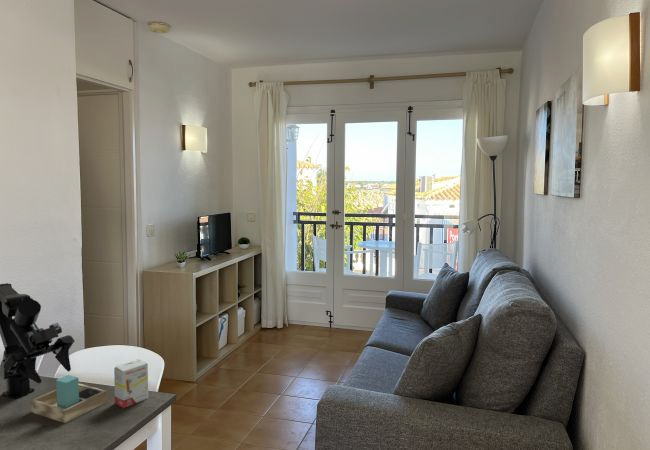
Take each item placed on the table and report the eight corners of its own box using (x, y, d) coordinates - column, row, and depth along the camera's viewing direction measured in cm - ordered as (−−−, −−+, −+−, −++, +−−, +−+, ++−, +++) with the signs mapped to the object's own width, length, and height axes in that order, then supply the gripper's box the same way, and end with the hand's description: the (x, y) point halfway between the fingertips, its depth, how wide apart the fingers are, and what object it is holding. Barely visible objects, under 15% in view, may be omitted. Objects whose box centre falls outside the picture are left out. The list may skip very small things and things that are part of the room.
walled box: (31, 413, 142) (30, 400, 141) (74, 394, 154) (73, 381, 154) (65, 424, 136) (64, 410, 135) (106, 403, 149) (106, 390, 148)
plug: (57, 415, 140) (55, 380, 139) (69, 409, 143) (68, 374, 142) (67, 418, 138) (65, 382, 137) (79, 412, 142) (78, 377, 141)
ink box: (123, 409, 145) (122, 371, 144) (114, 404, 148) (113, 366, 147) (149, 399, 152) (148, 362, 150) (140, 395, 155) (139, 358, 153)
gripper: (7, 325, 133) (36, 372, 130) (69, 309, 150) (96, 350, 147) (-9, 349, 137) (18, 395, 134) (52, 330, 154) (78, 370, 151)
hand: (55, 376), depth 141 cm, fingers open, 9 cm apart
